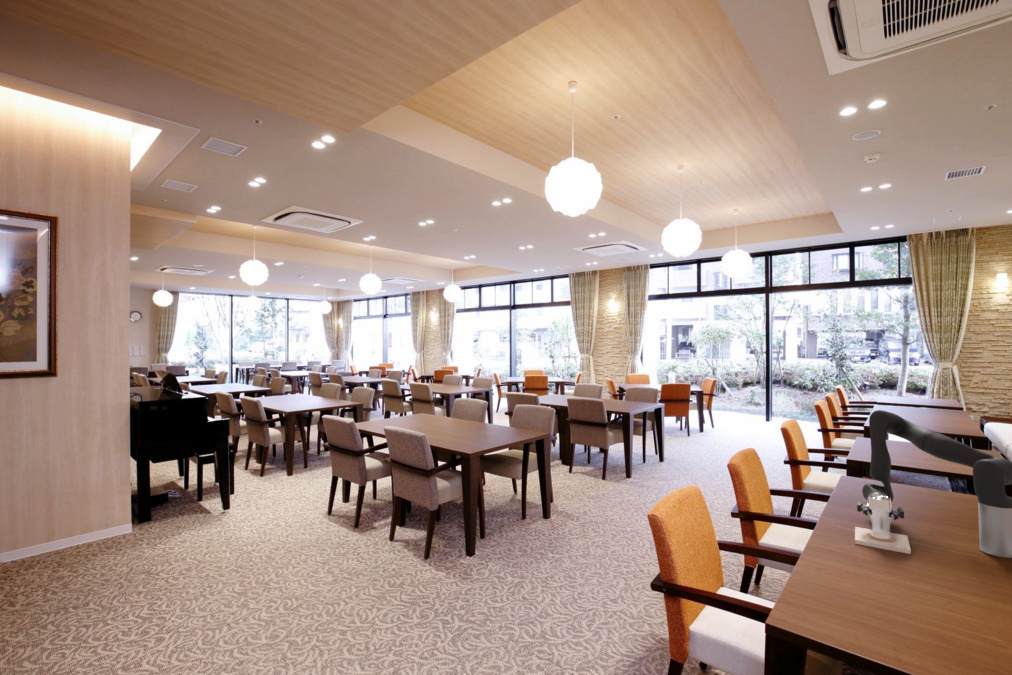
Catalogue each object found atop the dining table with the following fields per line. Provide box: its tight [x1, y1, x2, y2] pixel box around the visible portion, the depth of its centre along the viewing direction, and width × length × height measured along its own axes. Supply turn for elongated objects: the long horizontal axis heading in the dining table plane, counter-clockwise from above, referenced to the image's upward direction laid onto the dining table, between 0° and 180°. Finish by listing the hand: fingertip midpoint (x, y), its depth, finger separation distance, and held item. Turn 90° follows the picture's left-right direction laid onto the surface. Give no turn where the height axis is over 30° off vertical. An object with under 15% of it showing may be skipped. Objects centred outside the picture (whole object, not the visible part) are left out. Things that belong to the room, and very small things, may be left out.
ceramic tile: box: [854, 526, 912, 555], centre depth 179 cm, size 16×16×2 cm
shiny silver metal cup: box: [868, 495, 893, 540], centre depth 180 cm, size 7×7×15 cm
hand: (880, 515), depth 178 cm, fingers open, 8 cm apart
